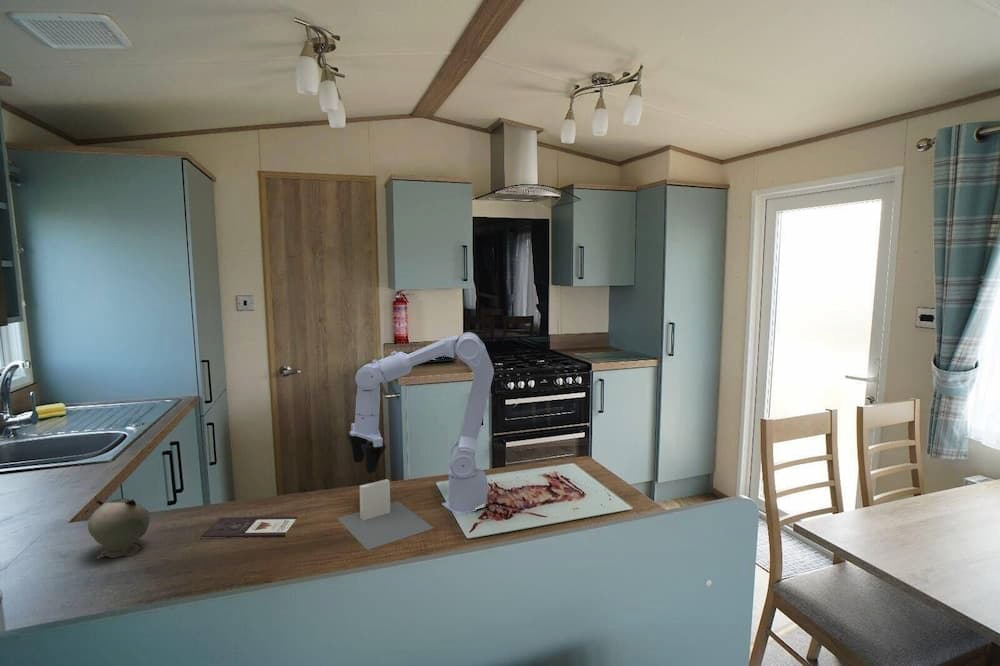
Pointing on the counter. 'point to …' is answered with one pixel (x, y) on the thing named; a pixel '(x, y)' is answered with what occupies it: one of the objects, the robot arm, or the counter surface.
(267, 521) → the chocolate bar
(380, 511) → the tile
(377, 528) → the mat
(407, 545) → the counter surface
